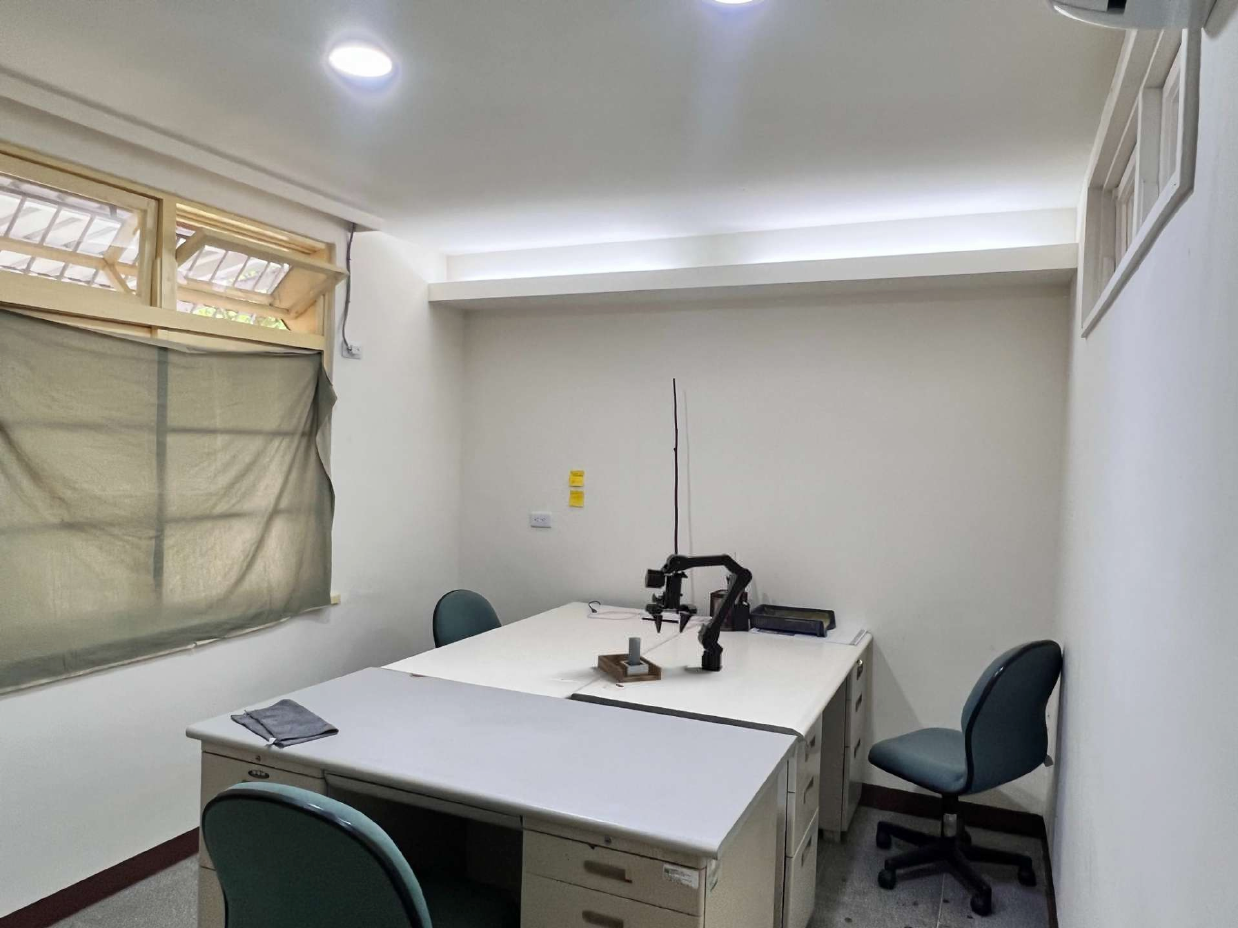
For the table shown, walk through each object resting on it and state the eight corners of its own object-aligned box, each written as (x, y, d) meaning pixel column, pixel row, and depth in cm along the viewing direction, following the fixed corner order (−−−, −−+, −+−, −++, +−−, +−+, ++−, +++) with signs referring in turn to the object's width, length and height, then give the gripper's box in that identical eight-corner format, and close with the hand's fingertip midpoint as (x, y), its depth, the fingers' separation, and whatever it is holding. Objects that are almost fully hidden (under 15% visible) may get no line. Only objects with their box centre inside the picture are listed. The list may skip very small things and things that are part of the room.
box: (635, 665, 301) (635, 652, 301) (660, 680, 279) (661, 667, 279) (597, 667, 295) (598, 655, 295) (620, 684, 274) (620, 670, 274)
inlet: (639, 672, 288) (639, 659, 288) (648, 678, 281) (648, 664, 281) (619, 674, 285) (619, 661, 285) (627, 679, 278) (627, 666, 278)
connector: (639, 674, 285) (640, 637, 285) (639, 677, 281) (640, 639, 281) (627, 674, 285) (628, 636, 285) (627, 677, 281) (628, 639, 281)
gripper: (683, 586, 309) (680, 627, 308) (639, 585, 300) (636, 628, 300) (699, 591, 299) (696, 634, 298) (654, 590, 290) (651, 635, 290)
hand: (669, 632), depth 297 cm, fingers open, 9 cm apart
